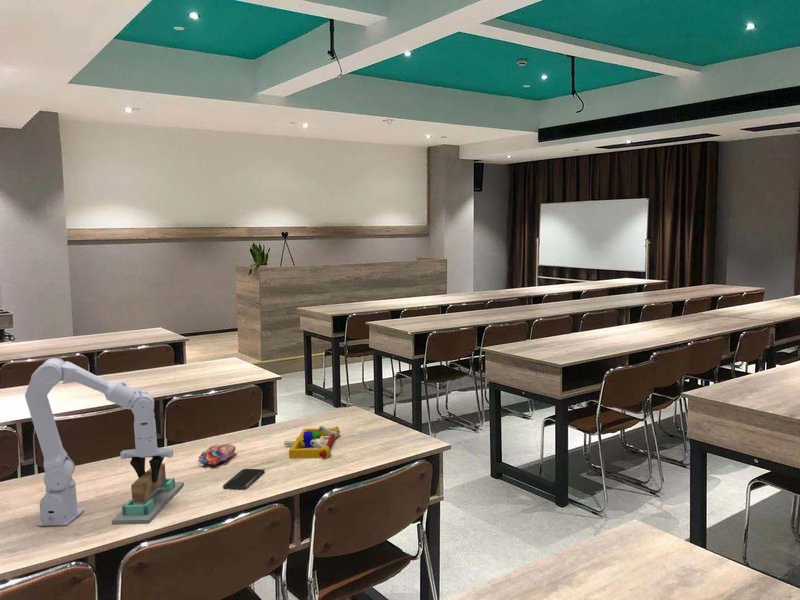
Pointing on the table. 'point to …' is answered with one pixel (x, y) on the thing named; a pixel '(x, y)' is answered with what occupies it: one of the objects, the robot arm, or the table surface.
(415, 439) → the table surface
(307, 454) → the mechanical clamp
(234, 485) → the phone
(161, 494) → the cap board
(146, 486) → the slat
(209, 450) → the anatomical model
